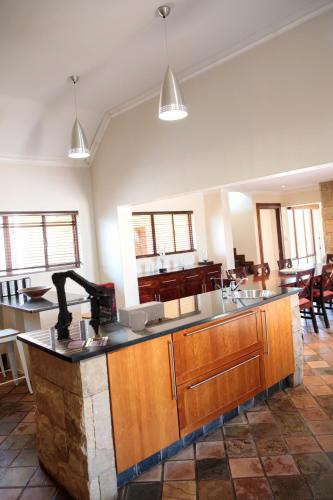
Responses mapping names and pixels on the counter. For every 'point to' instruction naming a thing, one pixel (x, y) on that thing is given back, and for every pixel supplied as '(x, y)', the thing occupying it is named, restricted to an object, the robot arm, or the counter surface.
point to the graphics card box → (110, 290)
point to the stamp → (97, 336)
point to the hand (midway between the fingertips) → (97, 333)
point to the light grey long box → (152, 308)
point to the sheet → (96, 342)
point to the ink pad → (76, 344)
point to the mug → (138, 320)
